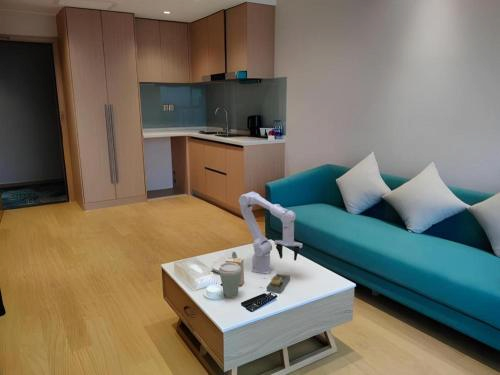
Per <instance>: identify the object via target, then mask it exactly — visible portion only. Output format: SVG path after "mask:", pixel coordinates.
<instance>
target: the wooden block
mask: <svg viewBox="0 0 500 375" xmlns="http://www.w3.org/2000/svg"><path fill="white" fill-rule="evenodd" d="M282 281H283V280H282V277H278V276H276V275H273V276H272V277H271V280H270V282H271V285H272V286H278V287H280V286H281V285H282Z"/></svg>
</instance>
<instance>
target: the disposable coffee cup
mask: <svg viewBox="0 0 500 375" xmlns="http://www.w3.org/2000/svg"><path fill="white" fill-rule="evenodd" d="M240 271H241V267H240V266H239V265H238V264H236V263H231V262H226V263H222V264H221V265H220V268H219V272H220V273H219V275H220V281H221V286H222V292H223V295H224V294H225V295H226V296H225V295H224V296H225V298H230V299H231V298H235V297H237V296H238V293H239V287H240V286H239V279H240Z"/></svg>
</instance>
